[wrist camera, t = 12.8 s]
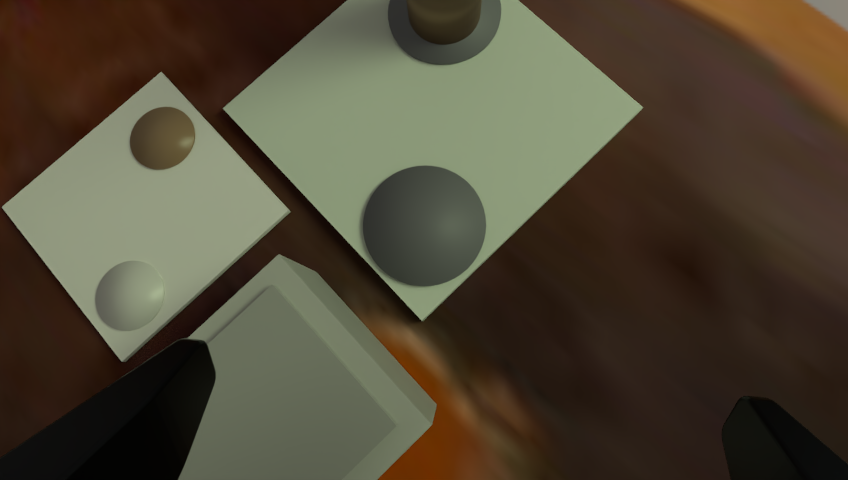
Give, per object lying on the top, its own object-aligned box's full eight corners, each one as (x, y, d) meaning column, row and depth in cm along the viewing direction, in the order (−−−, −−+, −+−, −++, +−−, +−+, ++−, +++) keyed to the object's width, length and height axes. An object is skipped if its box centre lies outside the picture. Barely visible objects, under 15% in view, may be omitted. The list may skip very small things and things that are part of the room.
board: (422, 321, 22) (421, 320, 21) (228, 113, 25) (220, 106, 24) (638, 113, 23) (644, 105, 23) (432, -65, 26) (431, -77, 25)
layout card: (126, 361, 23) (119, 361, 22) (6, 208, 24) (-1, 206, 24) (290, 211, 24) (287, 209, 23) (164, 75, 25) (159, 70, 25)
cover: (298, 541, 21) (245, 612, 15) (182, 395, 22) (97, 414, 17) (436, 404, 21) (431, 427, 16) (316, 271, 23) (275, 252, 18)
